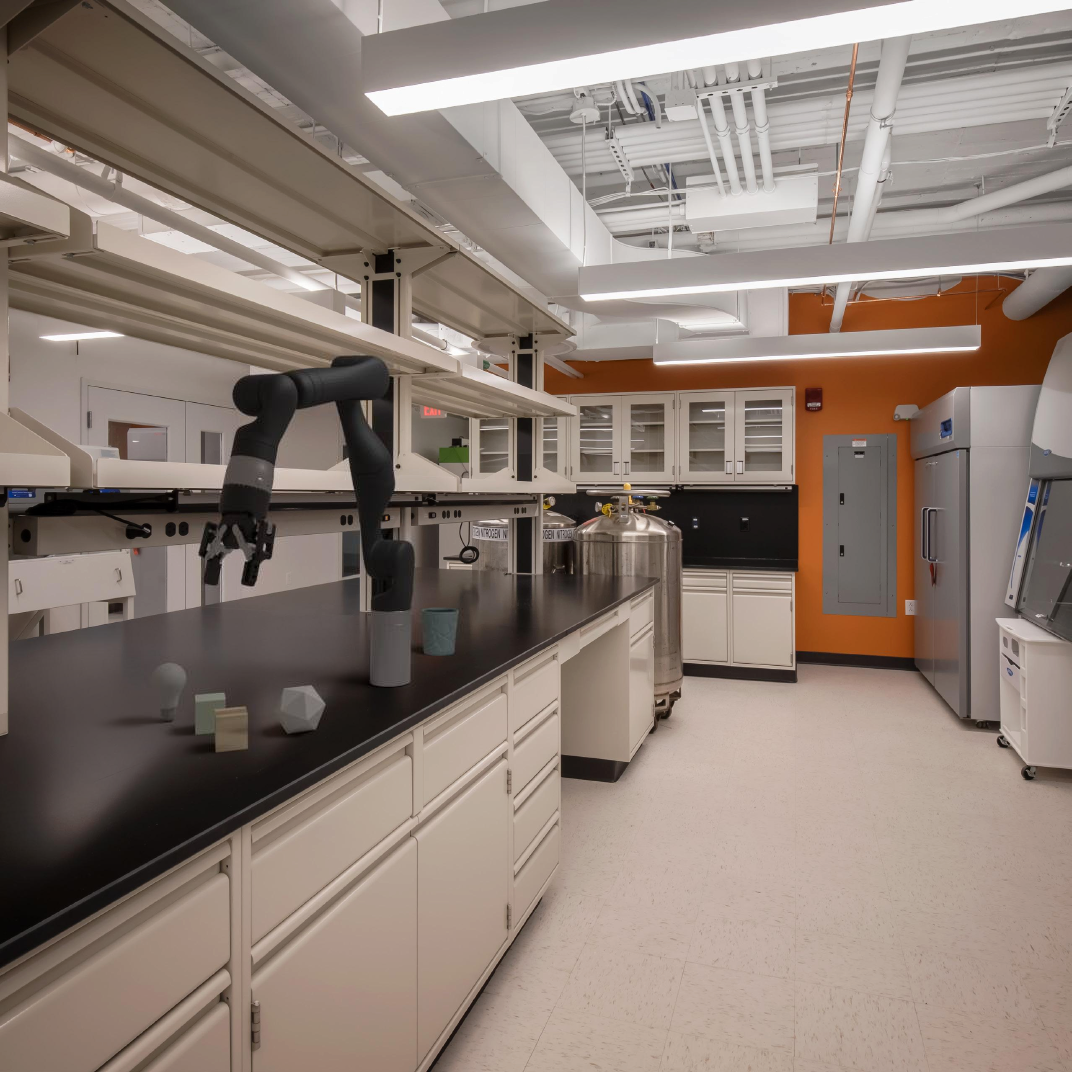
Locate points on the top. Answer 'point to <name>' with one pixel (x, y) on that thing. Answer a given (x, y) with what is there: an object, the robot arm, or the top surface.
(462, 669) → the top surface
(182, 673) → the lightbulb
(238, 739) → the maple block
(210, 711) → the sage block
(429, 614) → the teal plant pot
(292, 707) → the die
